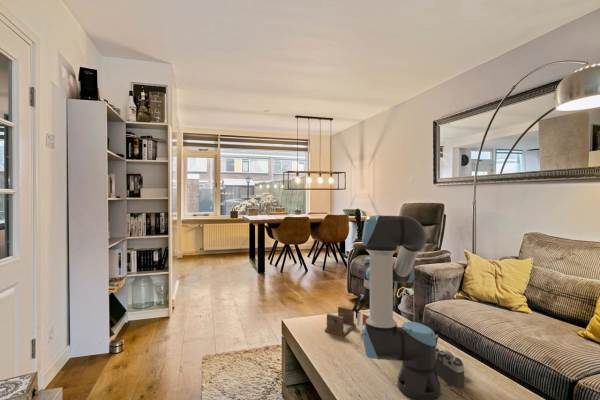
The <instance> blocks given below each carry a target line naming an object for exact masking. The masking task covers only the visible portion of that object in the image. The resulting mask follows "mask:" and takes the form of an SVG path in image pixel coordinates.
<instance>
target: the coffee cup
mask: <svg viewBox="0 0 600 400" xmlns="http://www.w3.org/2000/svg"><path fill="white" fill-rule="evenodd" d="M419 323H420V324H423V325H425V326H427V327H429V328H430V329H432V330H433V331H434V333H435V338H436V347H437V345H438V339H439V334H440V333H441V332H440V331H441V329H439V326H437V325H436V324H433V323H431V322H419Z"/></svg>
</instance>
